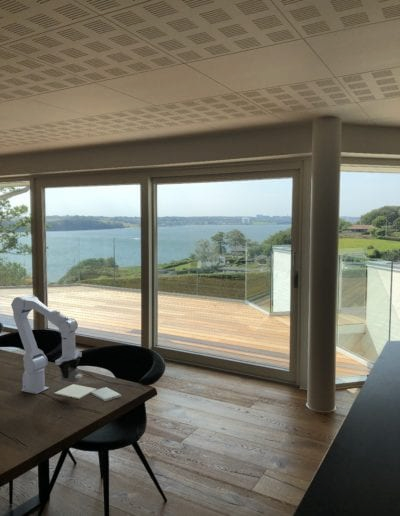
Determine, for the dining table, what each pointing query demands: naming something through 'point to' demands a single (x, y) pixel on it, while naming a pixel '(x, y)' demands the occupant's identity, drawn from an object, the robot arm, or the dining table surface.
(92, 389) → the rubber mat
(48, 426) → the dining table surface
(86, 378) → the dining table surface
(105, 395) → the hard drive
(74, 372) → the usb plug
